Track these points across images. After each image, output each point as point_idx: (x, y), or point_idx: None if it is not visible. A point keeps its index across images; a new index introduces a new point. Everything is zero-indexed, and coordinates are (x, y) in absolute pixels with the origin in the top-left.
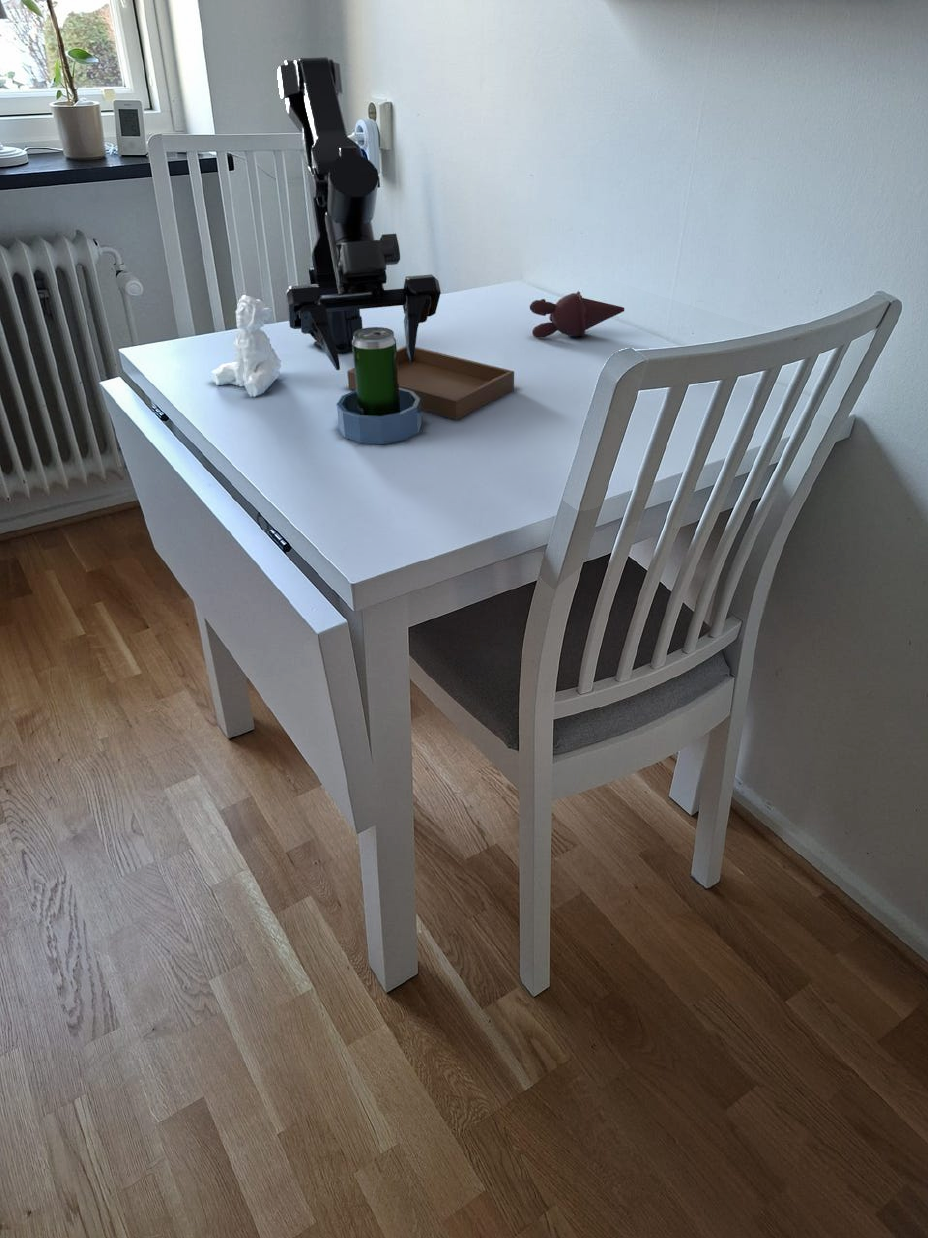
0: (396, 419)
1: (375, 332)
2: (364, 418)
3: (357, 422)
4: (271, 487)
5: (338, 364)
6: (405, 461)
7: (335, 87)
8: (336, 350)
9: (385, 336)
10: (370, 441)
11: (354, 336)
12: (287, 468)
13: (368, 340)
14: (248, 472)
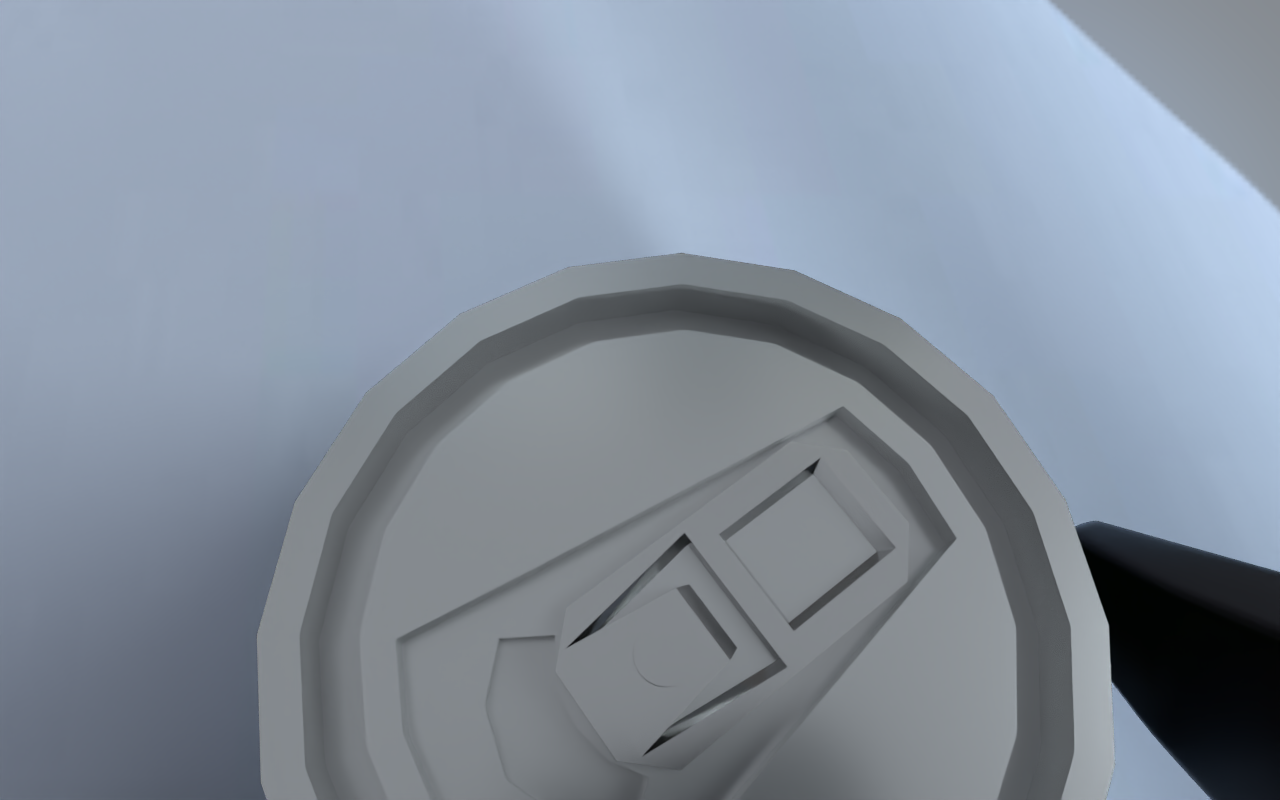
0: None
1: (671, 762)
2: None
3: None
4: (1015, 7)
5: (1080, 528)
6: (427, 230)
7: None
8: (1222, 611)
9: (431, 461)
10: None
11: (1023, 451)
12: (1015, 164)
13: (722, 269)
14: (1180, 129)
